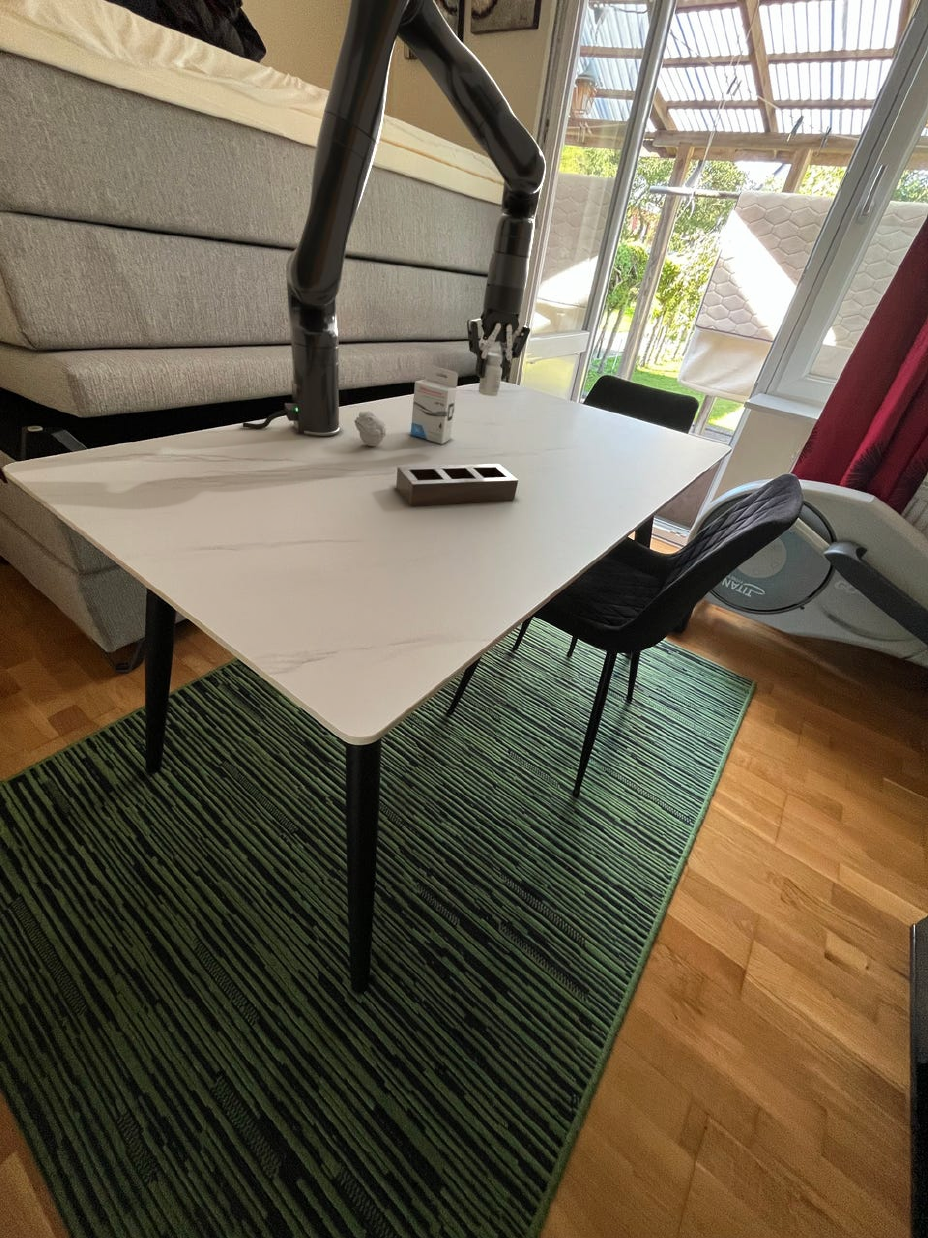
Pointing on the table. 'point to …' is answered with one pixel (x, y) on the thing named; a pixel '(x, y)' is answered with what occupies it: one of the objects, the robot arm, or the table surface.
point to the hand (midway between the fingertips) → (490, 377)
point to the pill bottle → (491, 375)
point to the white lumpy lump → (370, 428)
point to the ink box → (434, 405)
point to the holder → (455, 484)
